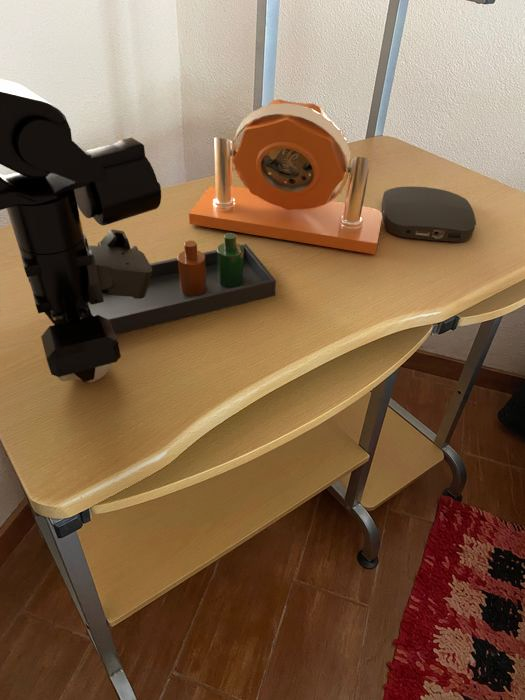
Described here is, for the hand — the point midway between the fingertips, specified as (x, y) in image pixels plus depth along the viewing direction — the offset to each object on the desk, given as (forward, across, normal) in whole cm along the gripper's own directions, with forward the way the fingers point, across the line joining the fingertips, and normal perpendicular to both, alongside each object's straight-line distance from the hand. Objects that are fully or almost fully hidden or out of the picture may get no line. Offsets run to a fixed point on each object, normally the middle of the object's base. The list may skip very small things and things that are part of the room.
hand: (83, 362), depth 58 cm
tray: (+2, +11, -14) cm, 18 cm away
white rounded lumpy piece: (+2, 0, 0) cm, 2 cm away
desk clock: (+2, +23, -37) cm, 44 cm away
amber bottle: (+2, +11, -16) cm, 20 cm away
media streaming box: (+2, +16, -60) cm, 62 cm away
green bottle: (+2, +11, -22) cm, 25 cm away
